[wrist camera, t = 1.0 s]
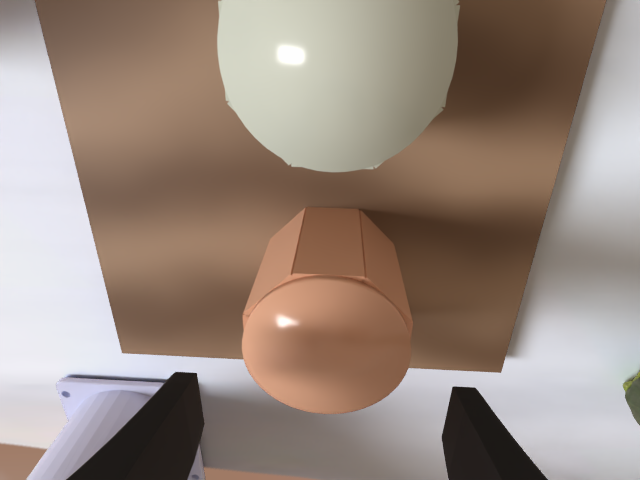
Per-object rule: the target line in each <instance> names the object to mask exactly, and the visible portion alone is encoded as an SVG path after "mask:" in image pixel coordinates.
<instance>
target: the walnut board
mask: <svg viewBox="0 0 640 480" xmlns="http://www.w3.org/2000/svg"><path fill="white" fill-rule="evenodd" d="M218 1H222V0H35V4H36V8H37V12H38V16H39V20H40V24H41V28H42V32H43V36H44V40H45V44H46V48H47V52H48V56H49V60H50V64H51V68H52V72H53V76H54V80H55V84H56V88H57V92H58V96H59V100H60V105H61V109H62V113H63V117H64V121H65V125H66V129H67V133H68V137H69V141H70V145H71V149H72V153H73V157H74V161H75V165H76V169H77V173H78V177H79V181H80V185H81V189H82V193H83V197H84V201H85V205H86V209H87V213H88V217H89V221H90V225H91V229H92V233H93V237H94V241H95V246H96V250H97V254H98V258H99V262H100V266H101V270H102V274H103V278H104V282H105V286H106V290H107V294H108V298H109V302H110V306H111V310H112V314H113V318H114V322H115V326H116V330H117V334H118V338H119V342H120V346H121V350H122V353H131V354H150V355H170V356H189V357H208V358H228V359H244V358H243V353H242V338H243V332H244V328H243V312H244V309H245V307H246V304H247V301H248V298H249V296H250V293H251V290H252V287H253V285H254V282H255V279H256V276H257V274H258V271H259V268H260V265H261V263H262V260H263V257H264V254H265V252H266V249H267V246H268V243H269V241H270V239H271V238H272V237H273V236H274V235H275V234H276V233H277V232H278V231H280V230H281V229H282V228H283V227H284V226H285V225H286V224H287V223H289V222H290V221H291V220H292V219H293V218H294V217H295V216H296V215H297V214H299V213H300V212H301V211H302V210H303V209H304V208H307V207H324V208H350V209H359V210H361V211H362V212H363V213H364V214H365V215H366V216H367V217H368V218H369V219H370V220H371V221H372V222H373V223H374V224H375V225H376V226H377V227H378V228H379V229H380V230H381V231H382V232H383V233H384V234H385V235H386V236H387V237H388V238H389V239H390V240H391V242H392V243H393V244H394V246H395V250H396V255H397V259H398V263H399V267H400V271H401V275H402V279H403V283H404V288H405V292H406V296H407V300H408V304H409V308H410V312H411V316H412V321H413V327H412V334H411V360H410V364H409V367H408V368H421V369H441V370H460V371H479V372H499V373H501V371H502V367H503V364H504V360H505V357H506V353H507V349H508V346H509V342H510V339H511V335H512V332H513V328H514V325H515V321H516V318H517V314H518V311H519V307H520V304H521V300H522V296H523V293H524V289H525V286H526V282H527V279H528V275H529V272H530V268H531V265H532V261H533V258H534V254H535V251H536V247H537V244H538V240H539V236H540V233H541V229H542V226H543V222H544V219H545V215H546V212H547V208H548V205H549V201H550V198H551V194H552V191H553V187H554V183H555V180H556V176H557V173H558V169H559V166H560V162H561V159H562V155H563V152H564V148H565V145H566V141H567V138H568V134H569V131H570V127H571V123H572V120H573V116H574V113H575V109H576V106H577V102H578V99H579V95H580V92H581V88H582V85H583V81H584V78H585V74H586V70H587V67H588V63H589V60H590V56H591V53H592V49H593V46H594V42H595V39H596V35H597V32H598V28H599V25H600V21H601V18H602V14H603V10H604V7H605V3H606V0H458V1H459V3H458V4H457V5H460V9H459V16H458V23H457V31H458V46H457V57H456V63H455V68H454V72H453V77H452V80H451V83H450V86H449V89H448V92H447V97H446V104H445V107H442V109H443V111H442V112H440V113H439V114H438V115H437V116H436V117H435V118H433V119H432V121H431V122H430V123H429V125H428V126H427V127H426V128H425V130H424V131H423V132H422V133H421V134H420V135H419V136H418V137H417V138H416V139H415V140H414V141H413V142H412V143H411V144H410V145H408V146H407V147H406V148H404V149H403V150H402V151H400V152H399V153H398V154H396V155H394V156H392V157H391V158H389V159H387V160H385V161H384V162H383V163H382V164H380V165H379V166H378V167H377V168H375V167H373V169H360V170H355V171H348V172H323V171H316V170H312V169H307V168H303V167H291V164H290V165H288V164H287V163H286V162H285V161H284V160H283V159H282V158H281V157H279V156H277V155H276V154H274V153H273V152H271V151H270V150H268V149H267V148H266V147H265V146H264V145H262V144H261V143H260V142H259V141H258V140H257V139H256V138H255V137H254V136H253V135H252V134H251V133H250V132H249V130H248V129H247V128H246V127H245V125H244V124H243V123H242V121H241V120H240V118H239V117H238V115H237V114H236V112H235V111H234V110H233V109H232V108H231V107H230V106H229V105H228V104H227V103H228V102H229V101H226V97H225V87H224V84H223V80H222V76H221V72H220V67H219V60H218V47H217V34H218V24H219V7H218Z"/></svg>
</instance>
